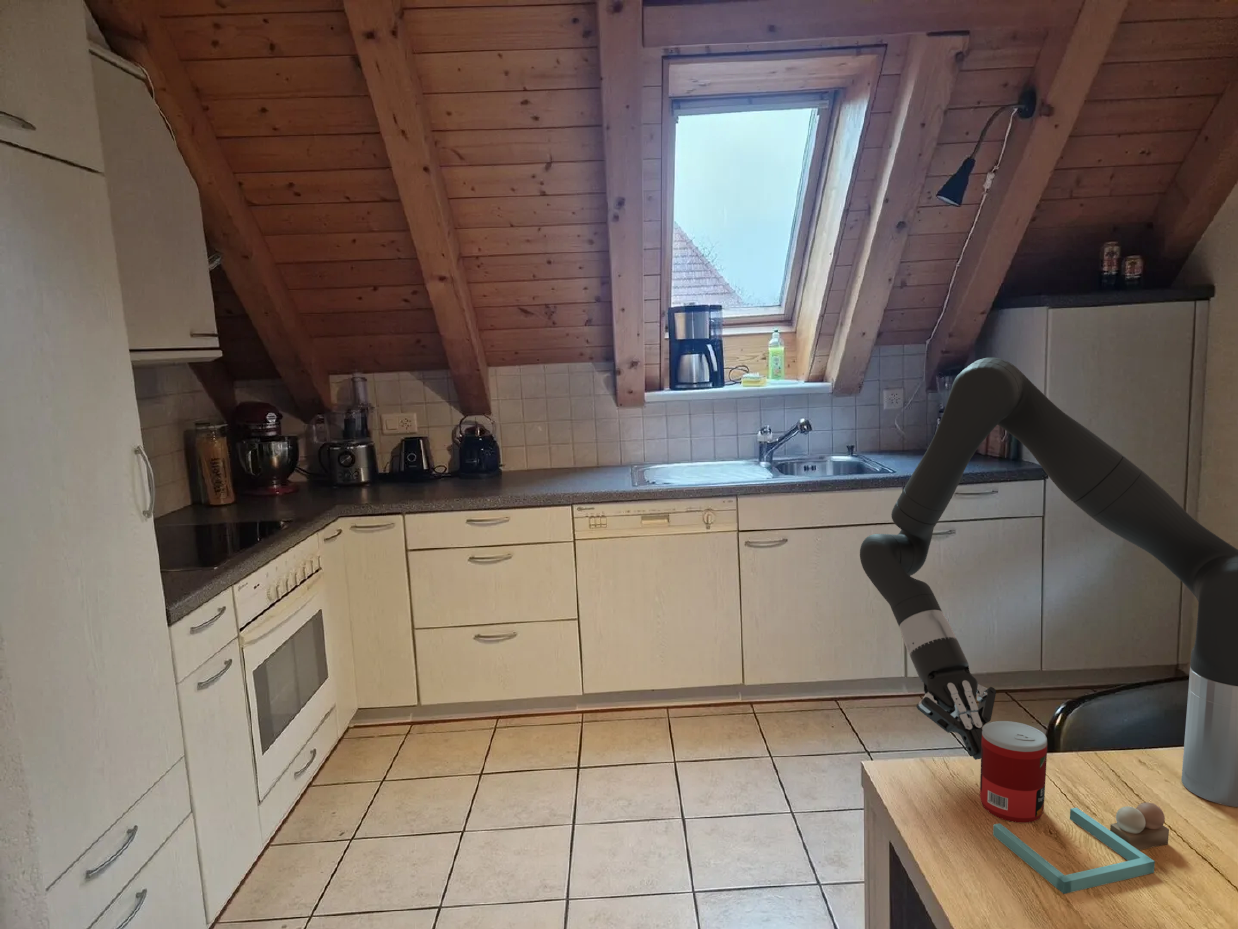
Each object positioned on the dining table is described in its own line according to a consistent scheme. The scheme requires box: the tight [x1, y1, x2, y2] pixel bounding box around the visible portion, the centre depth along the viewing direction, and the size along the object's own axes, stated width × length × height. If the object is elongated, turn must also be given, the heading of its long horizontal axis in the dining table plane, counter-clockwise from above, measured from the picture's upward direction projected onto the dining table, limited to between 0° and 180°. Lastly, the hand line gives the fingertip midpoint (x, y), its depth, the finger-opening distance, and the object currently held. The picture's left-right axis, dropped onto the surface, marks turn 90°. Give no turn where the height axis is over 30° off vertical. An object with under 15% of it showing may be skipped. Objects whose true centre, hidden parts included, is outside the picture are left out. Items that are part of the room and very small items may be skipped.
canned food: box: [979, 720, 1048, 824], centre depth 112 cm, size 8×8×11 cm
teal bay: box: [992, 807, 1156, 895], centre depth 103 cm, size 13×12×2 cm
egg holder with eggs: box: [1109, 801, 1170, 851], centre depth 105 cm, size 6×3×5 cm, turn 104°
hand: (982, 757), depth 118 cm, fingers closed
